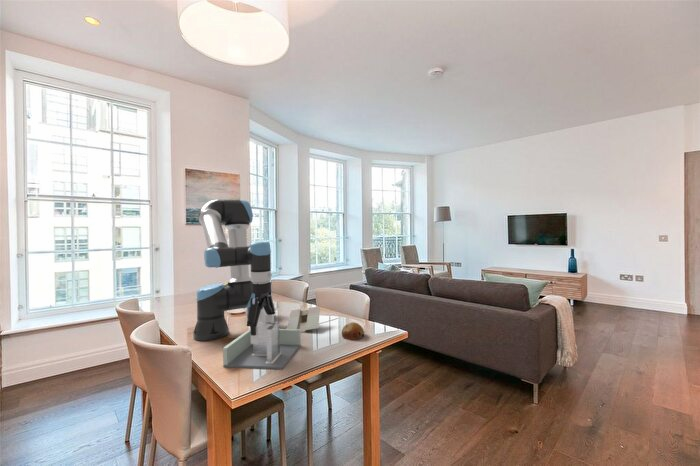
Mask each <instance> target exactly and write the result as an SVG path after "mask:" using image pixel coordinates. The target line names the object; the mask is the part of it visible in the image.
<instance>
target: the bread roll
mask: <svg viewBox="0 0 700 466" xmlns="http://www.w3.org/2000/svg"><path fill="white" fill-rule="evenodd" d="M365 334H366V332H365V331H364V328H363V327H362V326H361V325H360V324H359V323H357V322H356V321H352V322H351V321H350V322H349V323H347V324H345V325H343V327H342V330H341V337H342V338H343V339H345V340H349V341H350V340H351V341H357V340H361V339H363V338H364V337H365Z"/></svg>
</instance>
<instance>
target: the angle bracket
mask: <svg viewBox="0 0 700 466" xmlns="http://www.w3.org/2000/svg"><path fill="white" fill-rule="evenodd" d="M257 325H258V339H259V343H258V344H253V355H267V362H270V363H272V362H273V361H274V360H275V359H276V357H277V356H278V355H279V354H280V335H279V329H280V322H274V323H271V322H258V323H257Z"/></svg>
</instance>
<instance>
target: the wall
mask: <svg viewBox="0 0 700 466" xmlns="http://www.w3.org/2000/svg"><path fill="white" fill-rule="evenodd" d="M290 311H291V312H290V315H289V319H288V322H287V326H286V329H300V333H303V332H304V333H305V332H306V331H310V330H315V329H316V330H317V329H319V325H320V311H321V306H315V307H308V309H305V310H301V308H300V309H293V310H290Z"/></svg>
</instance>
